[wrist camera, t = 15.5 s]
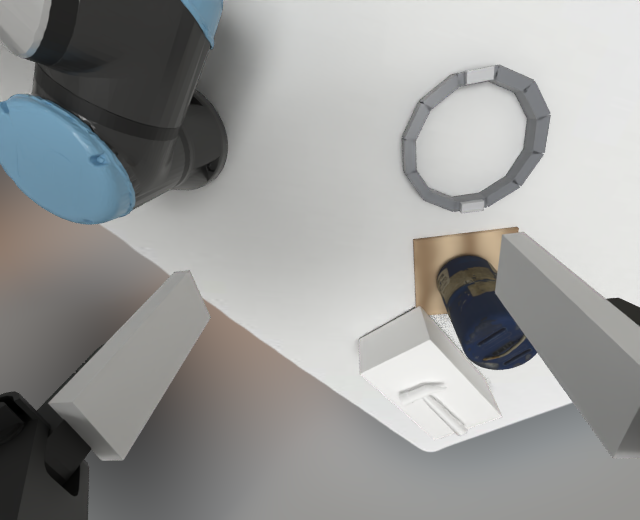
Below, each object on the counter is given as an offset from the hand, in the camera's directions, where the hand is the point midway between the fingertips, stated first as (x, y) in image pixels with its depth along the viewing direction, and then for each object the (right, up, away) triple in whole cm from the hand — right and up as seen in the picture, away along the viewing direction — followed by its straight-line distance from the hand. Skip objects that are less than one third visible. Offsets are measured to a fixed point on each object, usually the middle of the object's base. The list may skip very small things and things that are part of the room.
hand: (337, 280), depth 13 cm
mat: (+24, -2, +40) cm, 47 cm away
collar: (+20, +17, +30) cm, 40 cm away
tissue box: (+21, -20, +50) cm, 58 cm away
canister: (+24, -2, +40) cm, 46 cm away
